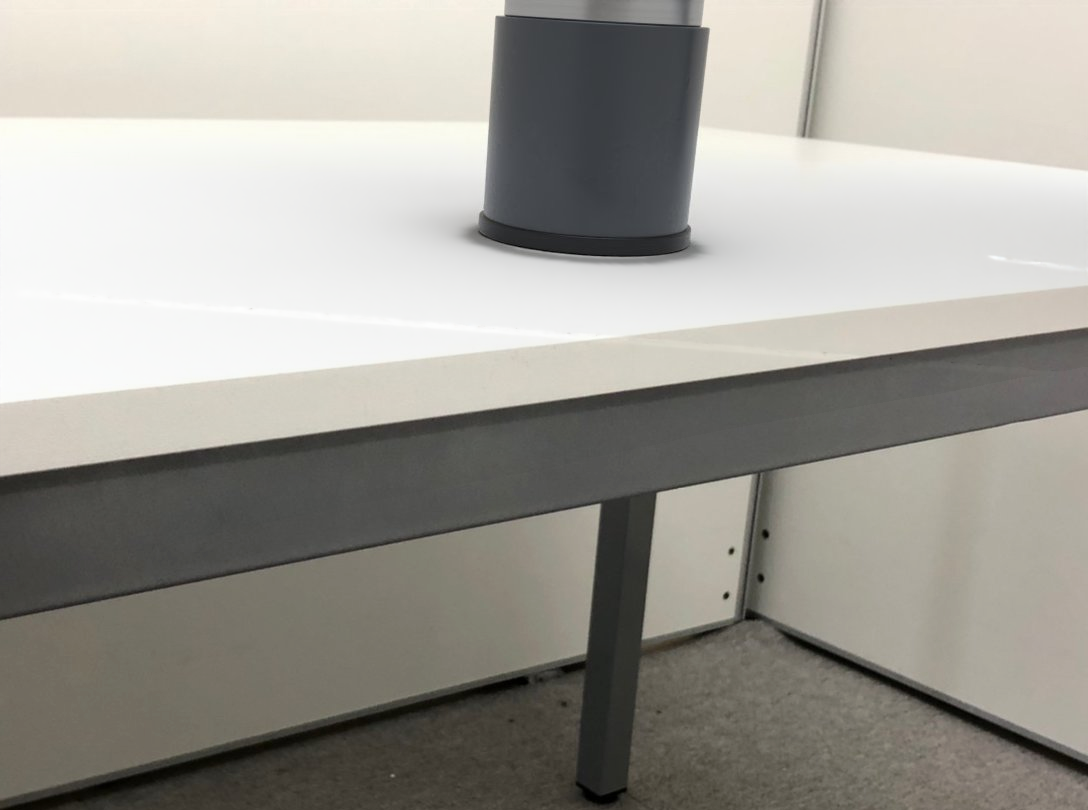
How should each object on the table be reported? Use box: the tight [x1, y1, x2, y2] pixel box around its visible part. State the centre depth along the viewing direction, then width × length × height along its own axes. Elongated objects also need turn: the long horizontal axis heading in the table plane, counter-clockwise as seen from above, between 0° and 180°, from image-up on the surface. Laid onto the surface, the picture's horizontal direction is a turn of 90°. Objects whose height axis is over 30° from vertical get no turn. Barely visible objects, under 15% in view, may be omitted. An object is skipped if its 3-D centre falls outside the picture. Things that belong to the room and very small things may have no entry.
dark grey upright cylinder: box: [477, 0, 711, 257], centre depth 63 cm, size 10×10×12 cm
